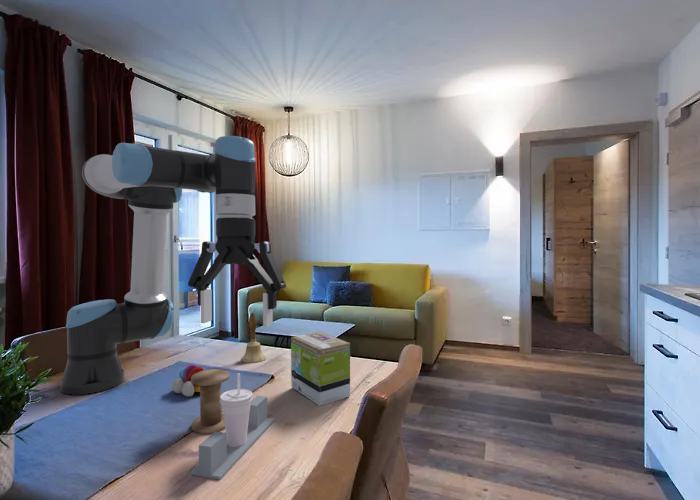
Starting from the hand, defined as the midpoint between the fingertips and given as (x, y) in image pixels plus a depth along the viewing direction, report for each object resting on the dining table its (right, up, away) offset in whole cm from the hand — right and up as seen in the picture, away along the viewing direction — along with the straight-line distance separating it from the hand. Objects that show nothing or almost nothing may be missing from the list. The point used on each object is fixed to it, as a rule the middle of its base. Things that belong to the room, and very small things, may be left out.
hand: (236, 323), depth 78 cm
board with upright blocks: (0, -25, +1) cm, 25 cm away
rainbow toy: (-20, -24, +28) cm, 42 cm away
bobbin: (-8, -24, +9) cm, 27 cm away
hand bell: (-10, -23, +56) cm, 61 cm away
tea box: (+15, -24, +27) cm, 39 cm away
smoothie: (0, -24, +1) cm, 24 cm away
